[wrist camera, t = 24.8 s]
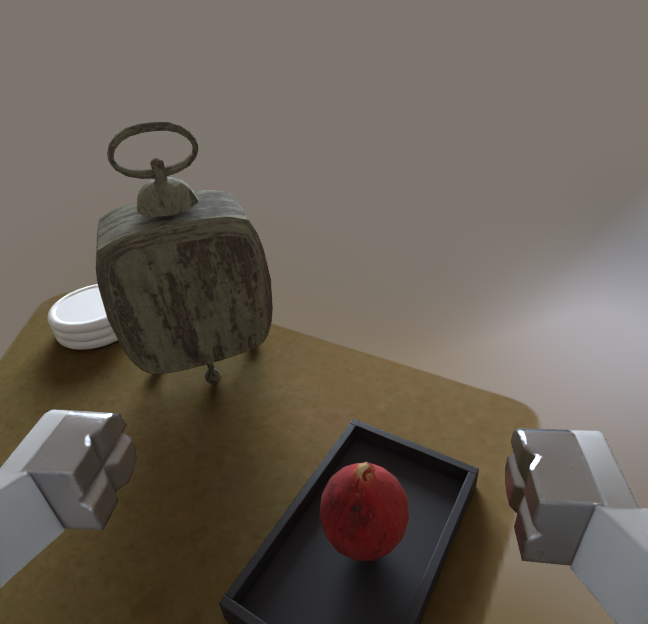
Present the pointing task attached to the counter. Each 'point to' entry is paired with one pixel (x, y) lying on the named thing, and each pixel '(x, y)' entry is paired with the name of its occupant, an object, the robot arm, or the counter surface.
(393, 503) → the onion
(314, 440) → the counter surface
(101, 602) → the counter surface
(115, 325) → the tabletop clock
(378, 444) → the baking tray
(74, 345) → the white round flat cylinder
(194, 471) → the counter surface
